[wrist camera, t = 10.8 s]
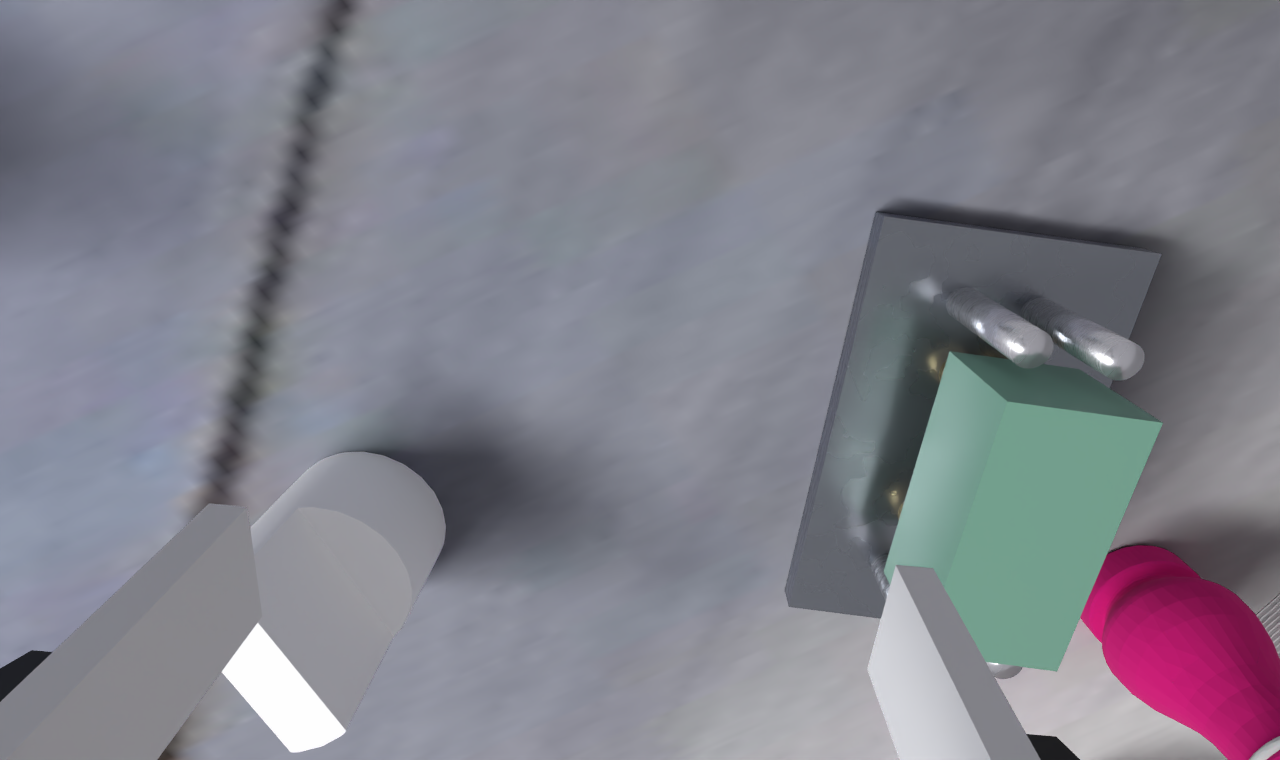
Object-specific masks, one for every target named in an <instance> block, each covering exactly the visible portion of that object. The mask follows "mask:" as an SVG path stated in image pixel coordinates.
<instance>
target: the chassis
mask: <svg viewBox="0 0 1280 760" xmlns="http://www.w3.org/2000/svg"><path fill="white" fill-rule="evenodd" d="M1161 255H1162V254H1160V253H1157V252H1153V251H1150V250H1147V249H1143V248H1138V247H1130V246H1123V245H1116V244H1108V243H1101V242H1094V241H1086V240H1079V239H1071V238H1064V237H1057V236H1049V235H1042V234H1035V233H1027V232H1020V231H1013V230H1005V229H998V228H991V227H983V226H976V225H969V224H961V223H954V222H947V221H939V220H932V219H924V218H917V217H910V216H902V215H895V214H888V213H880V212H876V213H875V217H874V221H873V225H872V229H871V233H870V238H869V242H868V246H867V250H866V254H865V258H864V263H863V267H862V271H861V275H860V279H859V283H858V288H857V292H856V296H855V300H854V304H853V308H852V313H851V317H850V321H849V325H848V329H847V333H846V338H845V342H844V346H843V350H842V354H841V358H840V362H839V367H838V371H837V375H836V379H835V383H834V387H833V392H832V396H831V400H830V404H829V408H828V412H827V417H826V421H825V425H824V429H823V433H822V437H821V442H820V446H819V450H818V454H817V458H816V462H815V467H814V471H813V475H812V479H811V483H810V487H809V492H808V496H807V500H806V504H805V508H804V512H803V517H802V521H801V525H800V529H799V533H798V537H797V542H796V546H795V550H794V554H793V558H792V562H791V567H790V571H789V575H788V579H787V583H786V587H785V593H786V597H787V601H788V605H789V607H795V608H803V609H811V610H818V611H826V612H834V613H842V614H850V615H857V616H865V617H873V618H881V617H882V613H883V610H884V606H885V602H886V599H887V595H888V591H889V588H890V584H889V582H888V580H887V578H886V575H885V573H884V568H885V565H886V561H887V558H888V555H889V551H890V548H891V545H892V541H893V538H894V535H895V531H896V528H897V525H898V521H899V518H900V515H901V511H902V508H903V505H904V501H905V498H906V495H907V491H908V488H909V485H910V481H911V478H912V475H913V471H914V468H915V465H916V461H917V458H918V455H919V451H920V448H921V445H922V441H923V438H924V435H925V431H926V428H927V425H928V421H929V418H930V415H931V411H932V408H933V405H934V401H935V398H936V395H937V391H938V388H939V385H940V381H941V378H942V375H943V371H944V368H945V365H946V361H947V358H948V355H949V351H952V352H959V353H966V354H974V355H981V356H988V357H995V358H1003V359H1010V360H1011V361H1012V362H1014V363H1015V364H1016V365H1018V366H1019V367H1022V368H1027V369H1030V368H1035V367H1038V366H1040V365H1042V364H1046V365H1054V366H1061V367H1068V368H1075V369H1080V370H1081V371H1083V372H1085V373H1086V374H1088V375H1089V376H1091V377H1092V378H1094V379H1096V380H1097V381H1099V382H1100V383H1102V384H1103V385H1105V386H1106V387H1108V388H1110V387H1111V384H1112V382H1113V380H1117V381H1121V380H1126V379H1129V378H1131V377H1132V376H1134V375H1135V374H1136V373H1138V372H1139V370H1140V369H1141V368H1142V366H1143V363H1144V359H1145V355H1144V351H1143V349H1142V348H1141V347H1140V346H1139V345H1138V344H1136V343H1134V342H1132V341H1130V340H1129V338H1130V335H1131V332H1132V330H1133V327H1134V325H1135V322H1136V319H1137V317H1138V314H1139V312H1140V309H1141V306H1142V304H1143V301H1144V299H1145V296H1146V294H1147V291H1148V288H1149V286H1150V283H1151V281H1152V278H1153V275H1154V273H1155V270H1156V268H1157V265H1158V262H1159V260H1160V257H1161ZM986 663H987V665H988V667H989V669H990V670H991V672H992V674H993V676H994V677H996V678H999V679H1007V678H1011V677H1013V676H1015V675H1017V674H1018V673H1019V672H1020V671H1021V669H1022V667H1020V666H1013V665H1005V664H997V663H990V662H986Z"/></svg>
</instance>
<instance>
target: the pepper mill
mask: <svg viewBox="0 0 1280 760" xmlns="http://www.w3.org/2000/svg"><path fill="white" fill-rule="evenodd" d="M1080 618H1081V619H1082V620H1083V622H1084V623H1085V624H1086V626H1087V627H1088V628H1089V629H1090V631H1091V632H1092V633H1093V634H1094V635H1095V637H1096V638H1097V639H1098V640H1099V641H1100V642H1101V643H1102V649H1103V654H1104V657H1105V660H1106V663H1107V665H1108V666H1109V668H1110V670H1111V671H1112V673H1113V674H1114V675H1115V676H1116V677H1117V678H1118V680H1119V681H1120V682H1121V683H1122V684H1123V685H1124V686H1125V687H1126V688H1127V689H1128V690H1129V691H1130V692H1131V693H1132V694H1133V695H1135V696H1136V697H1137V698H1139V699H1140V700H1142V701H1143V702H1144V703H1146V704H1147V705H1149V706H1150V707H1151V708H1153V709H1154V710H1156V711H1158V712H1160V713H1162V714H1164V715H1166V716H1168V717H1170V718H1172V719H1174V720H1176V721H1177V722H1179V723H1181V724H1183V725H1185V726H1187V727H1189V728H1191V729H1193V730H1194V731H1196V732H1198V733H1200V734H1201V735H1202V736H1204V737H1205V738H1206V739H1207V740H1209V741H1210V742H1211V743H1213V744H1214V745H1215V746H1216V747H1217V749H1218V750H1219V751H1220V752H1221V753H1222V754H1223V755H1224V756H1225V757H1226V758H1227V759H1228V760H1280V658H1279V656H1278V653H1277V651H1276V648H1275V646H1274V643H1273V641H1272V640H1271V638H1270V636H1269V634H1268V633H1267V631H1266V629H1265V628H1264V626H1263V624H1262V623H1261V621H1260V620H1259V619H1258V617H1257V616H1256V614H1255V613H1254V612H1253V611H1252V610H1251V609H1250V608H1249V607H1248V606H1247V605H1246V604H1245V603H1244V602H1243V601H1242V600H1241V599H1240V598H1239V597H1238V596H1237V595H1236V594H1234V593H1233V592H1231V591H1230V590H1228V589H1226V588H1225V587H1223V586H1221V585H1219V584H1217V583H1214V582H1211V581H1207V580H1204V579H1201V578H1200V576H1199V575H1198V574H1197V573H1196V572H1195V571H1194V570H1192V569H1191V568H1190V567H1189V566H1188V565H1187V564H1186V563H1185V562H1183V561H1182V560H1181V559H1180V558H1179V557H1178V556H1176V555H1175V554H1174V553H1172V552H1170V551H1168V550H1166V549H1163V548H1159V547H1155V546H1145V545H1137V546H1130V547H1124V548H1122V549H1119V550H1116V551H1113V552H1111V553H1109V554H1107V555H1106V558H1105V560H1104V562H1103V565H1102V567H1101V570H1100V572H1099V574H1098V577H1097V579H1096V581H1095V584H1094V586H1093V588H1092V591H1091V593H1090V595H1089V598H1088V600H1087V602H1086V605H1085V607H1084V609H1083V612H1082V614H1081V616H1080Z"/></svg>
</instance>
